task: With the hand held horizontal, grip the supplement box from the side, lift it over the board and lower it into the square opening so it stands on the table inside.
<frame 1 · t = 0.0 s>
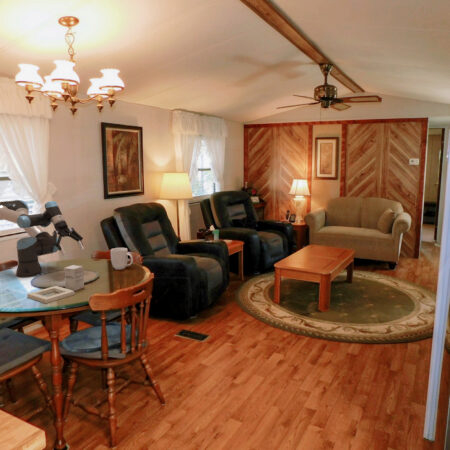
hand: (73, 252, 262), 15 cm above the table, tool tilted 35°, fingers open, 13 cm apart
mug: (121, 268, 282), on the table
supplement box: (74, 288, 240), on the table
hole board: (51, 295, 227), on the table
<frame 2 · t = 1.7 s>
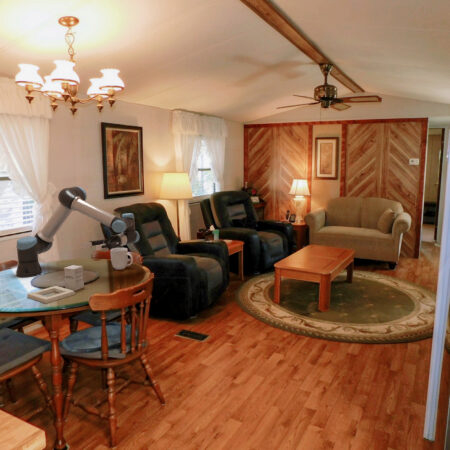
hand: (89, 247, 246), 22 cm above the table, tool horizontal, fingers open, 13 cm apart
nothing on the table moved.
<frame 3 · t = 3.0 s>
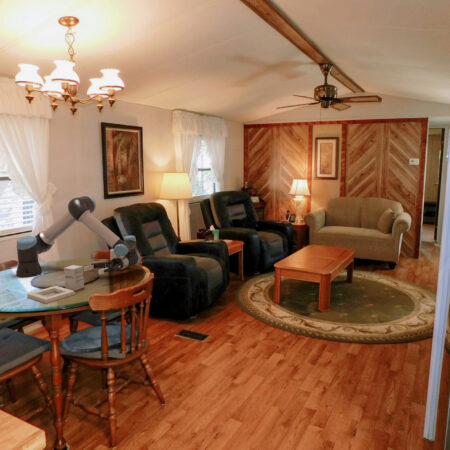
hand: (91, 270, 248), 8 cm above the table, tool horizontal, fingers open, 13 cm apart
nothing on the table moved.
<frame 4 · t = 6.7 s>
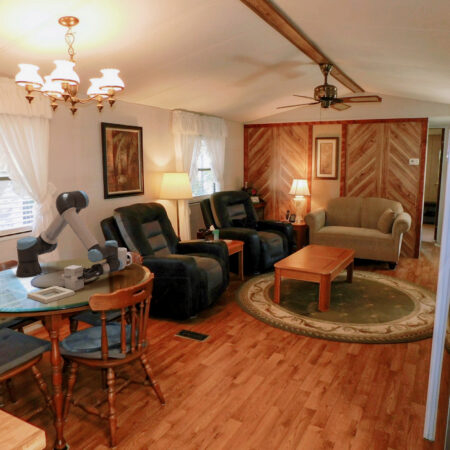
hand: (66, 278, 235), 7 cm above the table, tool horizontal, fingers closed on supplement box, 8 cm apart
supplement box: (74, 288, 240), on the table, touching gripper
everything else where it was.
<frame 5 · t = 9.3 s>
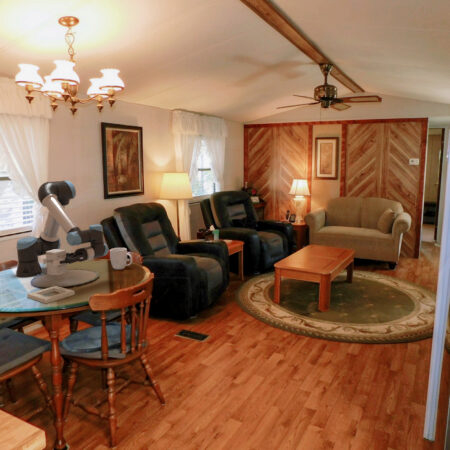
hand: (48, 262, 223), 19 cm above the table, tool horizontal, fingers closed on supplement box, 8 cm apart
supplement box: (57, 273, 228), point 11 cm above the table, touching gripper
everything else where it was.
when the fingers open (8 cm above the table, at t = 12.1 s): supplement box drops 1 cm, resting in hole board.
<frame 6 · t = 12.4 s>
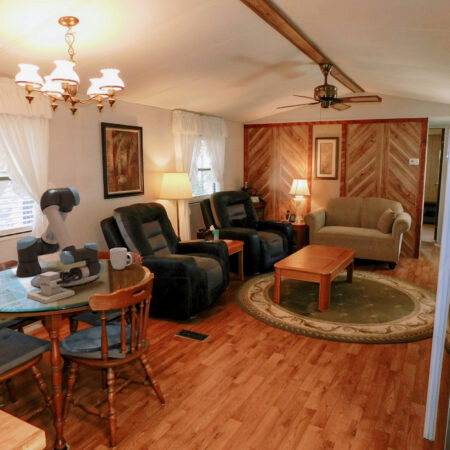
hand: (43, 282, 222), 8 cm above the table, tool horizontal, fingers open, 11 cm apart
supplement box: (51, 296, 227), resting in hole board
everything else where it was.
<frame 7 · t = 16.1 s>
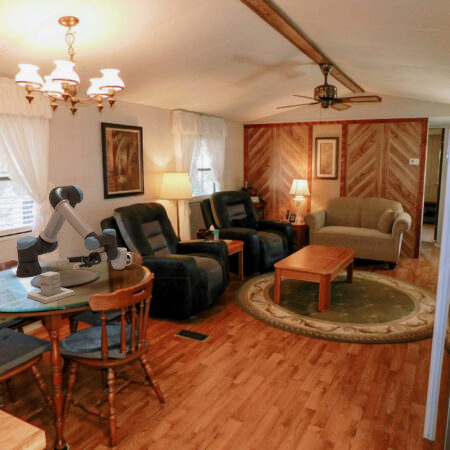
hand: (65, 265, 232), 15 cm above the table, tool horizontal, fingers open, 13 cm apart
nothing on the table moved.
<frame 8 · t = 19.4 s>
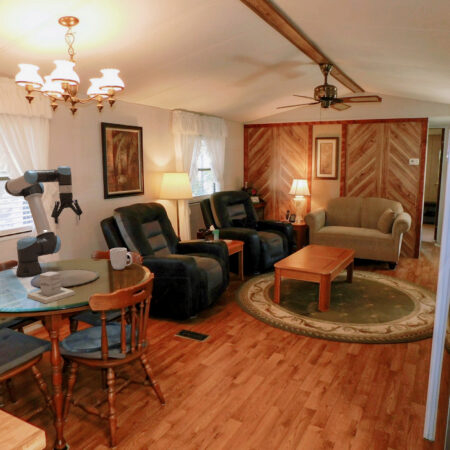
hand: (68, 227, 256), 32 cm above the table, tool pointing down, fingers open, 13 cm apart
nothing on the table moved.
at the end: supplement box 0.1 cm off-centre on the hole board, point 0.0 cm above the hole board's base; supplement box tilted 0°; the gripper is holding nothing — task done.
